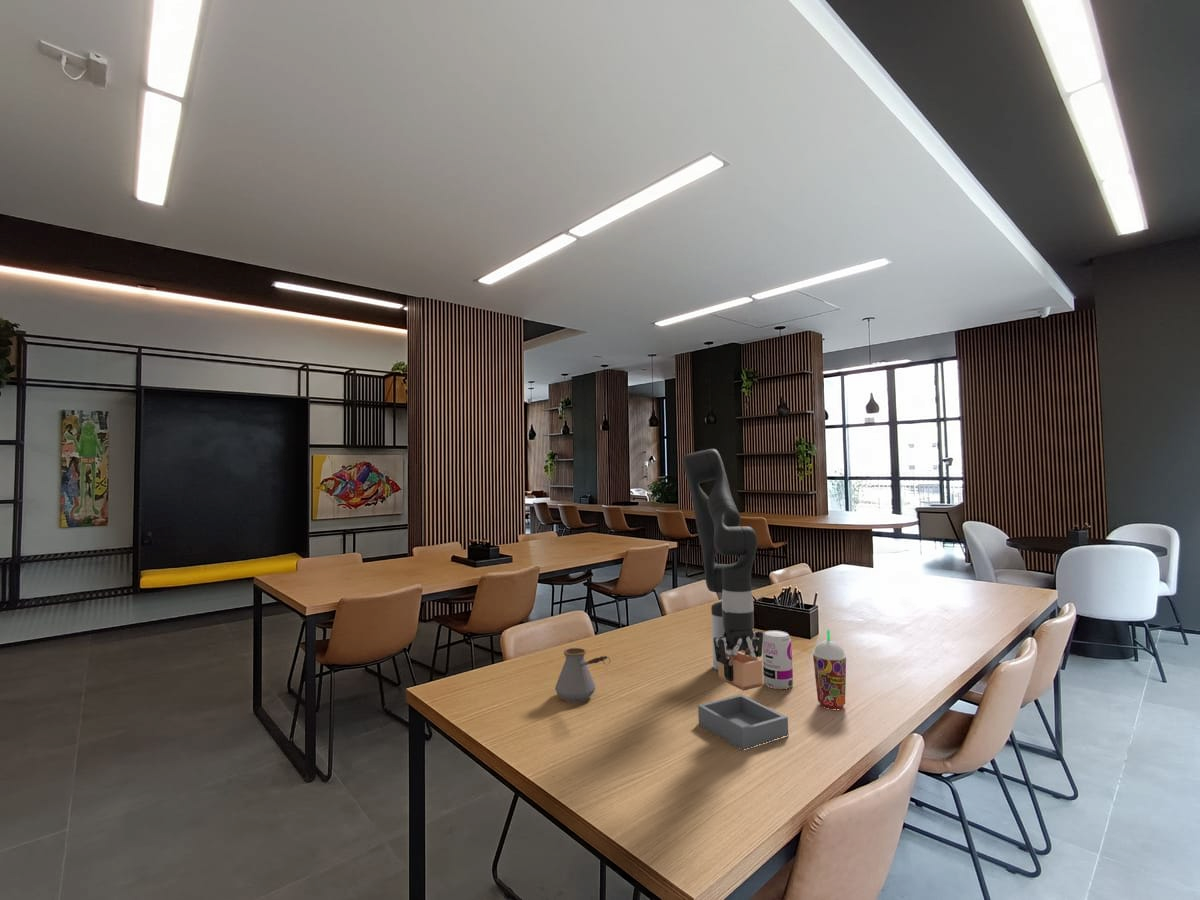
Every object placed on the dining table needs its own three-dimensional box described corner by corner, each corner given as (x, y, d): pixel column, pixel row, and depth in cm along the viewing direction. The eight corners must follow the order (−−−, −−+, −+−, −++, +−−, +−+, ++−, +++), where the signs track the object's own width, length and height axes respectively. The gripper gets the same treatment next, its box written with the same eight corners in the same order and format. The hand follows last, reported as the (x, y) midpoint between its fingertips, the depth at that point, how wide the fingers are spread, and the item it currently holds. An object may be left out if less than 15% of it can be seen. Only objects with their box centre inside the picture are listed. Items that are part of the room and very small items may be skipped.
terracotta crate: (737, 674, 138) (736, 650, 139) (762, 686, 130) (761, 660, 131) (718, 678, 135) (717, 654, 136) (743, 690, 127) (742, 664, 128)
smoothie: (834, 715, 139) (830, 635, 140) (807, 704, 147) (804, 628, 148) (855, 708, 143) (852, 631, 144) (829, 697, 150) (826, 624, 152)
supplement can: (794, 682, 162) (792, 631, 163) (791, 692, 155) (789, 638, 156) (766, 678, 166) (764, 628, 167) (762, 688, 158) (760, 635, 159)
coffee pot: (547, 696, 156) (547, 642, 157) (580, 686, 162) (580, 635, 163) (590, 721, 138) (589, 661, 139) (625, 709, 145) (624, 652, 146)
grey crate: (741, 712, 142) (741, 694, 143) (788, 736, 128) (787, 717, 128) (698, 723, 136) (698, 705, 136) (742, 751, 122) (742, 730, 122)
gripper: (749, 601, 141) (751, 668, 139) (704, 608, 134) (706, 678, 133) (770, 607, 134) (773, 677, 133) (724, 614, 127) (727, 688, 126)
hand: (740, 677), depth 133 cm, fingers closed on terracotta crate, 6 cm apart
